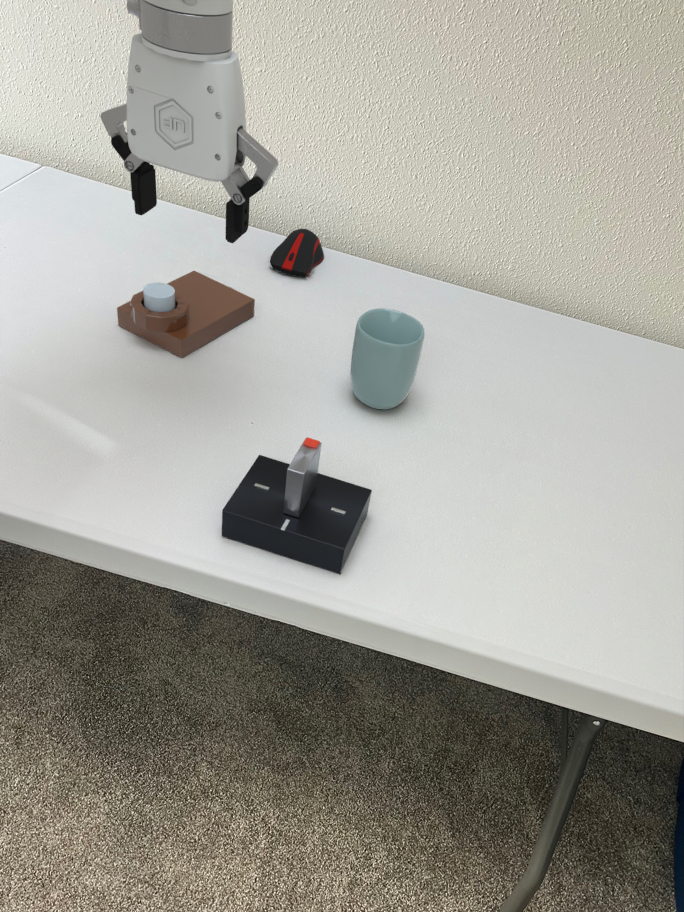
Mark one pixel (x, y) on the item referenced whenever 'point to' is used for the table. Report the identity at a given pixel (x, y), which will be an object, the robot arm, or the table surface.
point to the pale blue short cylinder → (159, 297)
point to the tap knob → (302, 477)
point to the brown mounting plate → (188, 314)
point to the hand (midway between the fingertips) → (190, 223)
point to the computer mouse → (297, 253)
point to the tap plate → (305, 538)
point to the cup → (385, 357)
